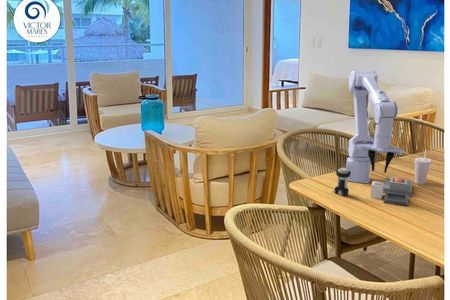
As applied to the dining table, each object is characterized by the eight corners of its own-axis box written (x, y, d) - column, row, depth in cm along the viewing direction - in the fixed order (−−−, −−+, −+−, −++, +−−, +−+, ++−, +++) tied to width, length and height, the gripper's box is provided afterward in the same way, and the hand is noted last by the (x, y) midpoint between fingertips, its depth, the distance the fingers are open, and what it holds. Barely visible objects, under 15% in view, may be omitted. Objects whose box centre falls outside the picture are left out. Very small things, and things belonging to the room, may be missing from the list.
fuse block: (370, 197, 175) (371, 183, 174) (371, 193, 179) (372, 180, 177) (381, 199, 174) (383, 185, 172) (382, 195, 177) (384, 181, 176)
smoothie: (430, 186, 187) (434, 152, 183) (412, 184, 188) (417, 151, 184) (426, 180, 193) (431, 147, 189) (410, 179, 194) (414, 146, 190)
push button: (328, 193, 178) (330, 168, 175) (335, 189, 182) (337, 165, 179) (344, 198, 174) (346, 172, 171) (351, 194, 178) (353, 169, 175)
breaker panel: (382, 192, 180) (384, 181, 178) (385, 182, 190) (386, 172, 189) (411, 196, 176) (412, 185, 175) (411, 186, 187) (413, 175, 185)
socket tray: (383, 202, 170) (384, 199, 170) (385, 195, 177) (385, 191, 177) (407, 206, 168) (407, 202, 167) (408, 198, 175) (408, 194, 174)
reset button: (393, 186, 179) (394, 179, 179) (394, 183, 182) (394, 177, 181) (402, 187, 178) (402, 180, 178) (402, 184, 181) (403, 178, 180)
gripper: (360, 135, 169) (357, 171, 172) (404, 140, 163) (399, 177, 167) (363, 131, 175) (359, 166, 179) (404, 135, 170) (400, 171, 174)
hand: (379, 171), depth 173 cm, fingers open, 4 cm apart
